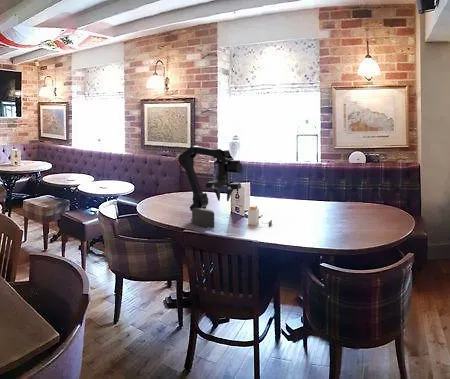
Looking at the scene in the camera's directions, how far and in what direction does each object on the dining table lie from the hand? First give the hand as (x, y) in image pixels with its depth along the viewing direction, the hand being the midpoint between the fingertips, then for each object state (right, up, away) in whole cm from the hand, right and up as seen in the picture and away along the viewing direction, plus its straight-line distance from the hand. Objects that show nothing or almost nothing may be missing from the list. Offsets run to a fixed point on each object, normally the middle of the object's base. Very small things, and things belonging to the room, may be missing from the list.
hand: (223, 201), depth 217 cm
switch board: (+18, -13, -2) cm, 22 cm away
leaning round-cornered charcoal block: (-11, -14, -3) cm, 18 cm away
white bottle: (+16, -12, -2) cm, 20 cm away
